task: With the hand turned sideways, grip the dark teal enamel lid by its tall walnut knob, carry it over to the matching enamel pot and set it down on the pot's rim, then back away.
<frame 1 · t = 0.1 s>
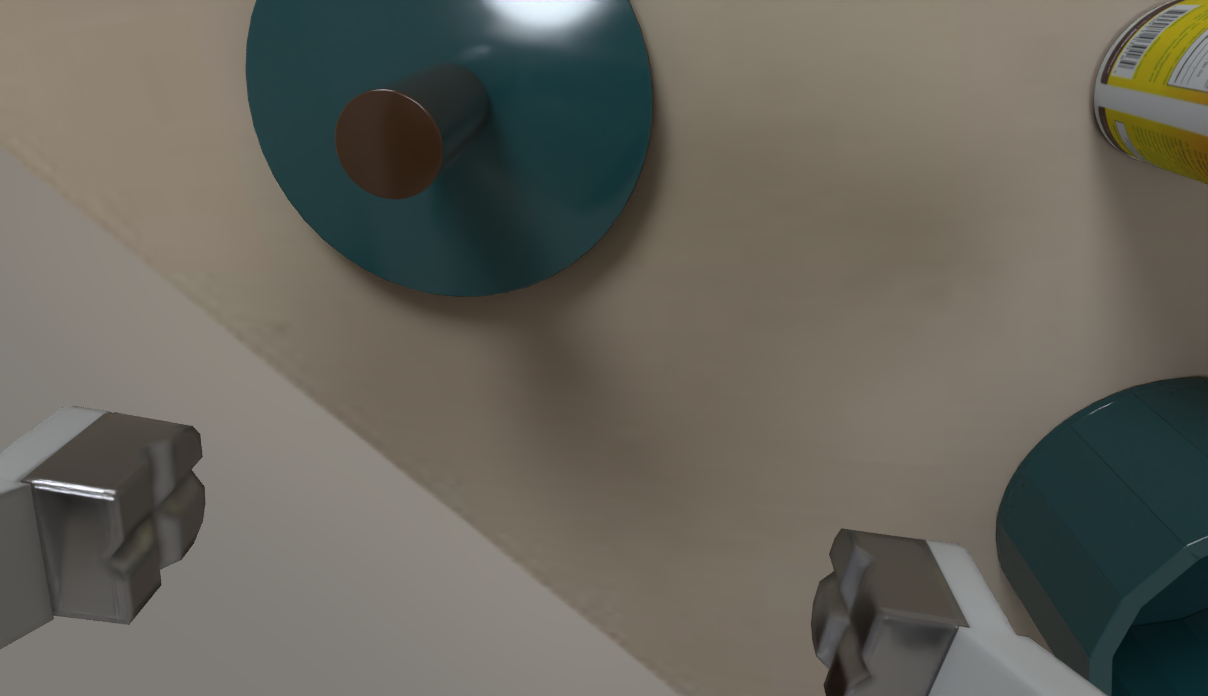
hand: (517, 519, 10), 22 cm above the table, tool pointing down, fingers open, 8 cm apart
pot: (1153, 513, 36), on the table
lid: (451, 104, 29), point 1 cm above the table
supplement bottle: (1165, 78, 29), on the table
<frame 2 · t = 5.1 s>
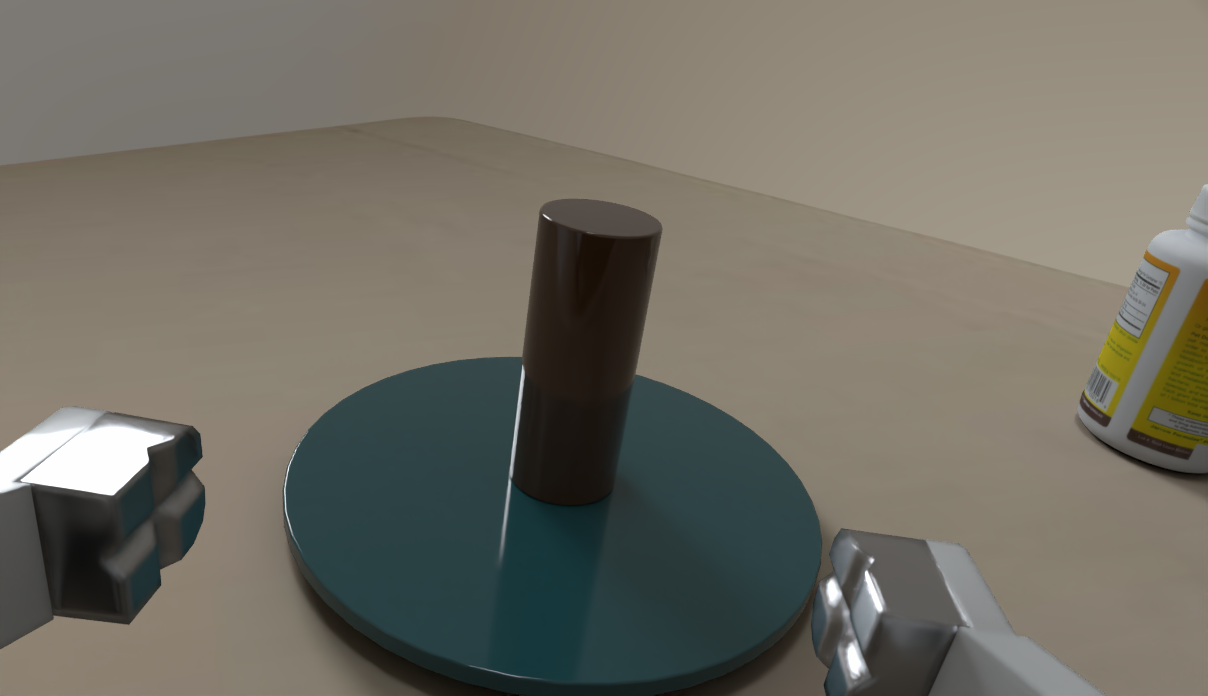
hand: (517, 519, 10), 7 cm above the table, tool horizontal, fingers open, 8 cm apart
lid: (560, 488, 23), point 1 cm above the table
supplement bottle: (1143, 445, 33), on the table
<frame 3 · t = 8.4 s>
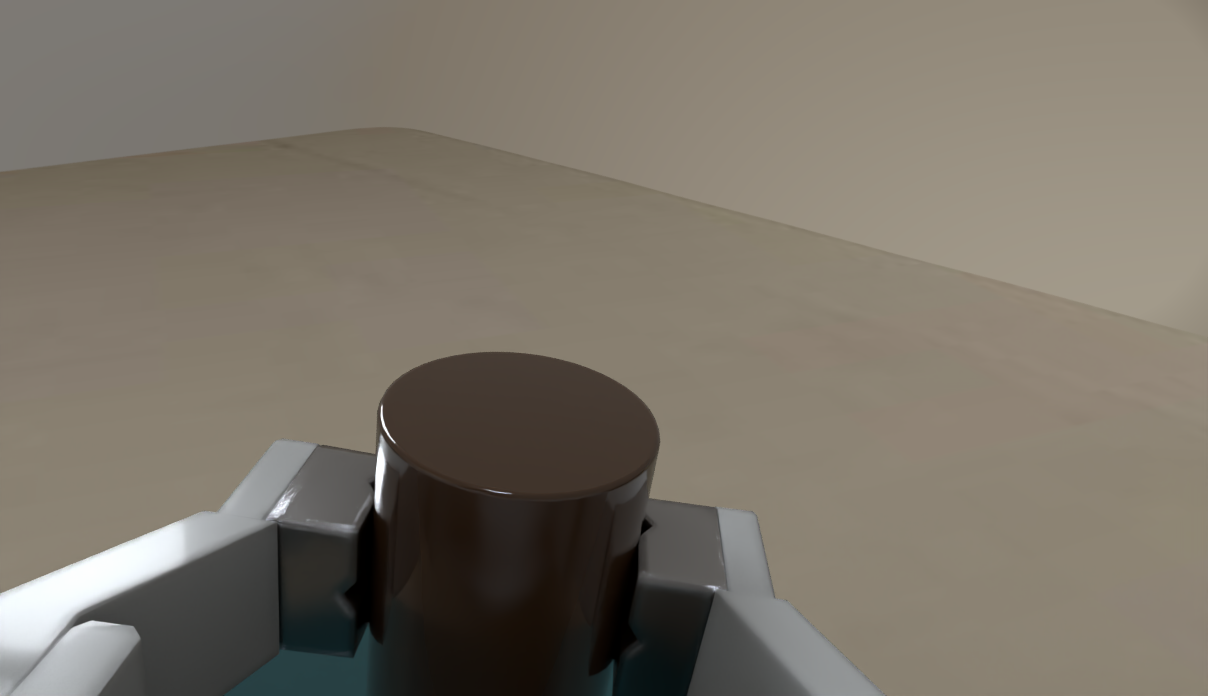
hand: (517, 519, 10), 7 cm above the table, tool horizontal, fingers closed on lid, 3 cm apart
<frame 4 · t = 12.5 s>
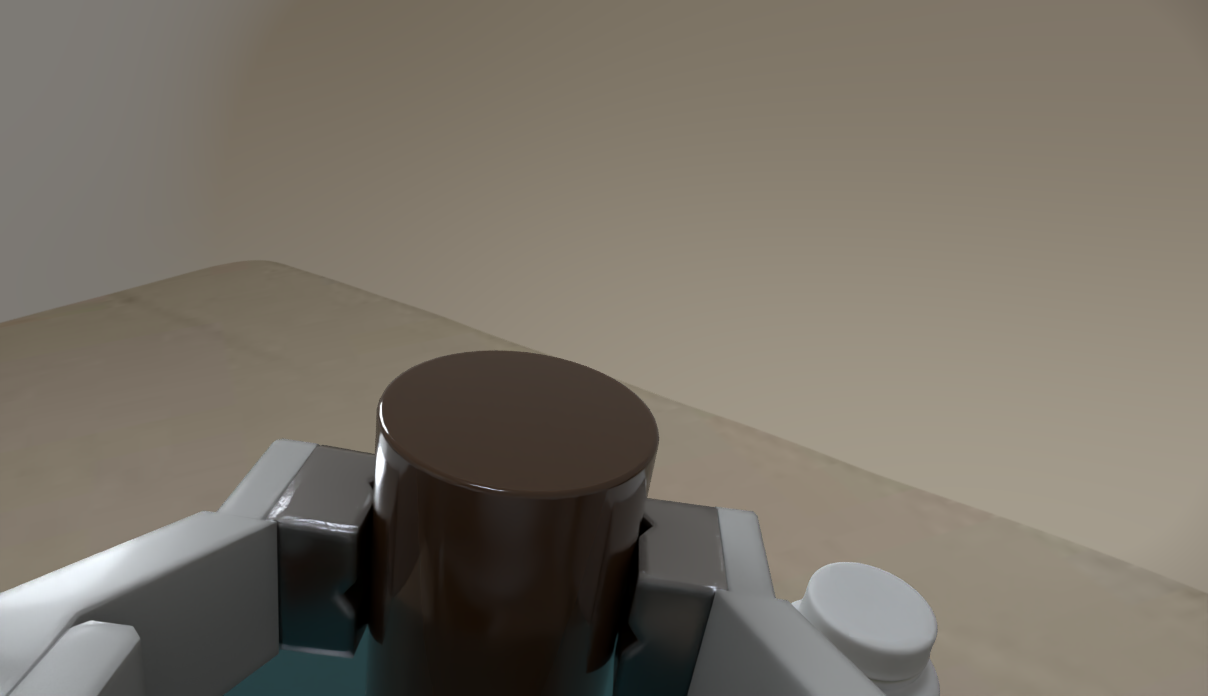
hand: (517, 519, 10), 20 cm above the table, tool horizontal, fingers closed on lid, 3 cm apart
when the fingers open (14 cm above the table, at t = 17.0 s): lid stays where it is, resting on pot.
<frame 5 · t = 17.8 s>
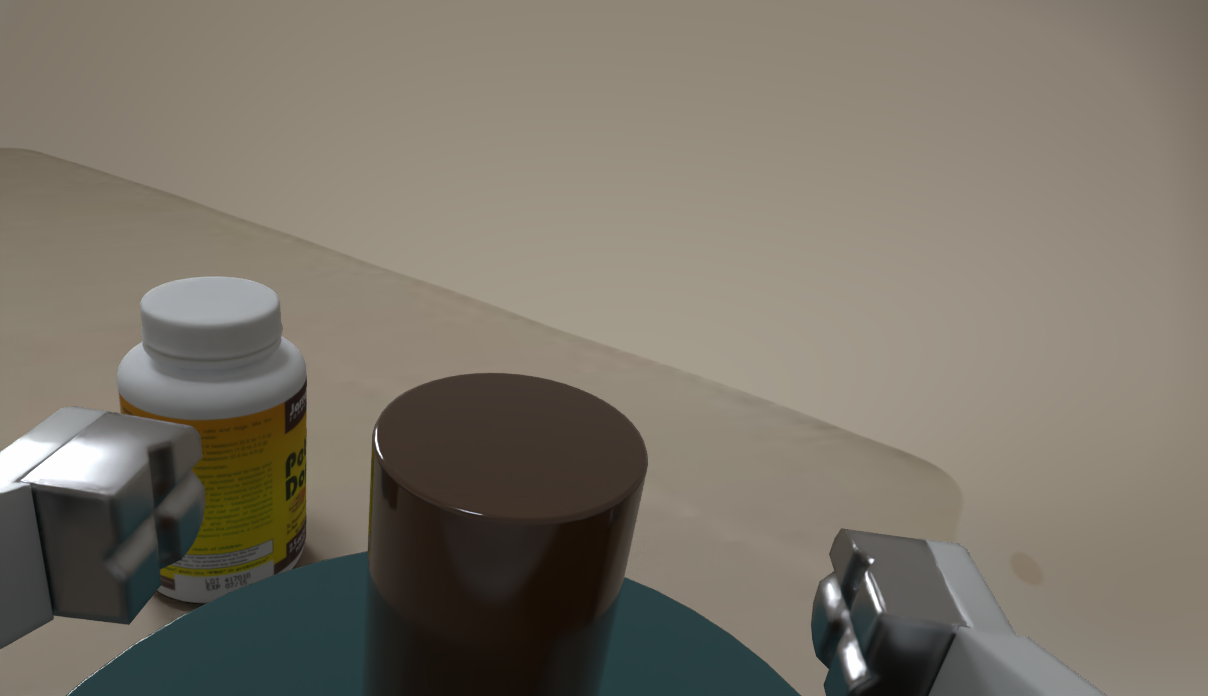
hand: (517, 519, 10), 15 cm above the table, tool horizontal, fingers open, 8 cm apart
supplement bottle: (225, 560, 29), on the table
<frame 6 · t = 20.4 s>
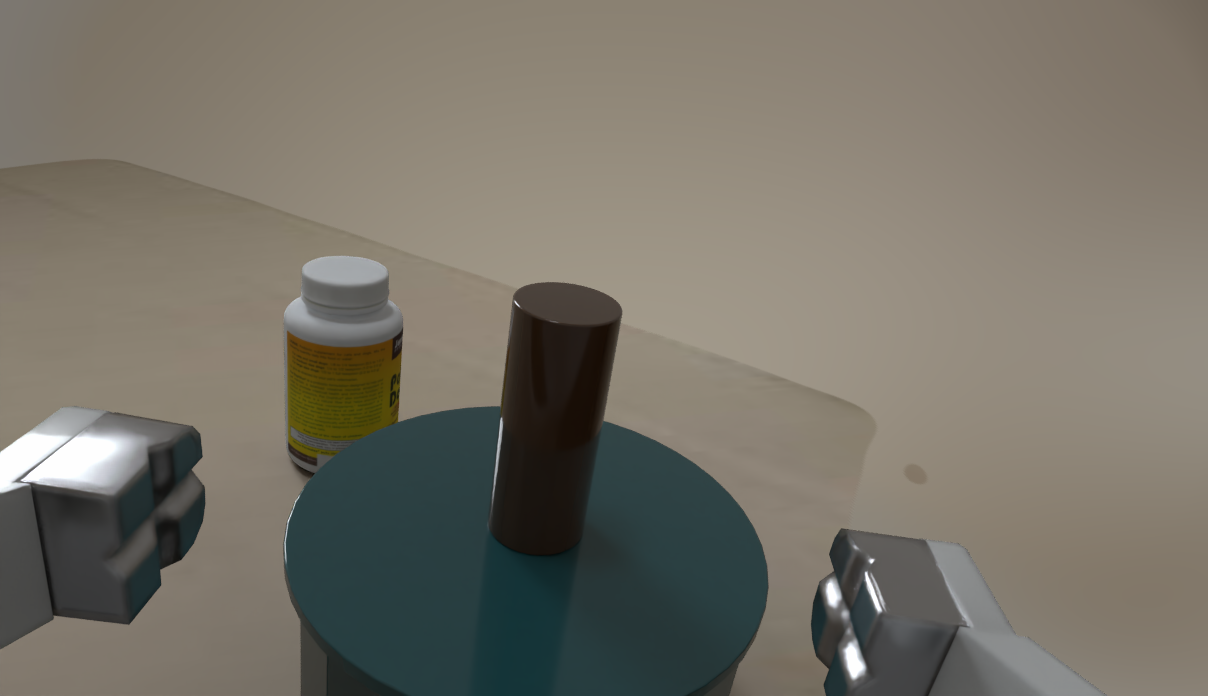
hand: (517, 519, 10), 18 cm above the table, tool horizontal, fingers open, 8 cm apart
lid: (534, 537, 25), point 8 cm above the table, touching pot
supplement bottle: (342, 454, 42), on the table
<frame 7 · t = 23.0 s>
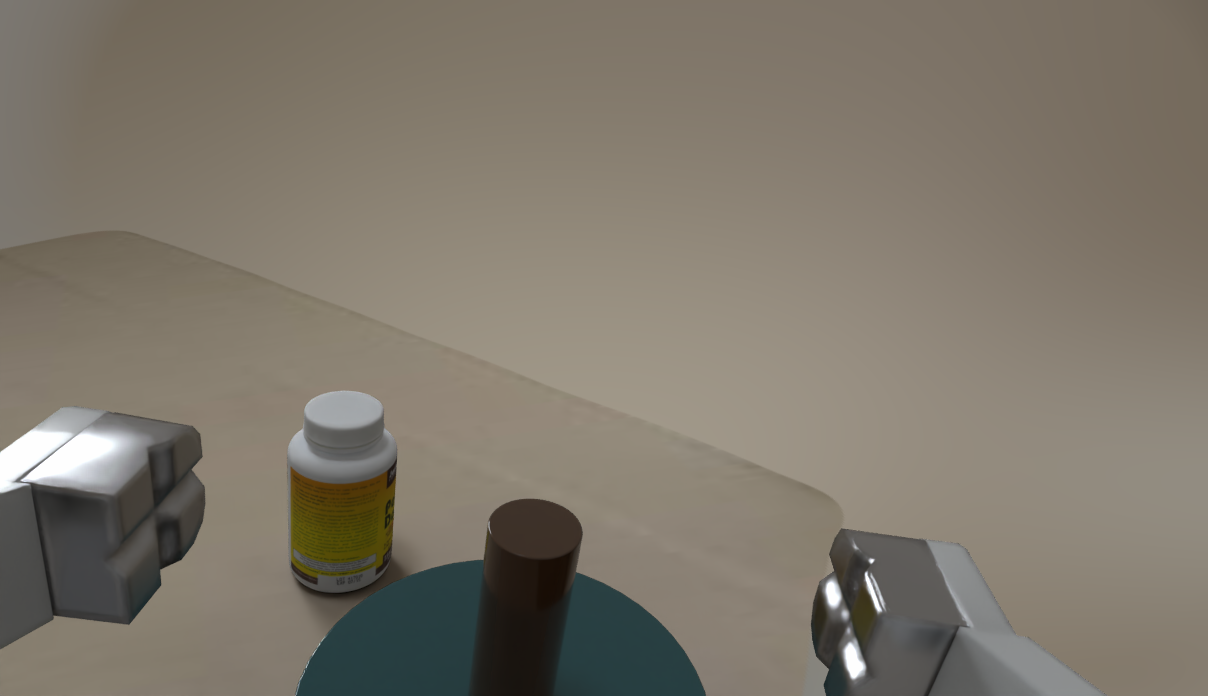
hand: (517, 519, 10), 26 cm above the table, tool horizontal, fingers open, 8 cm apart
supplement bottle: (340, 566, 46), on the table
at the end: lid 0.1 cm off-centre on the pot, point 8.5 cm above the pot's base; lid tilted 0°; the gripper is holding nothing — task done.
